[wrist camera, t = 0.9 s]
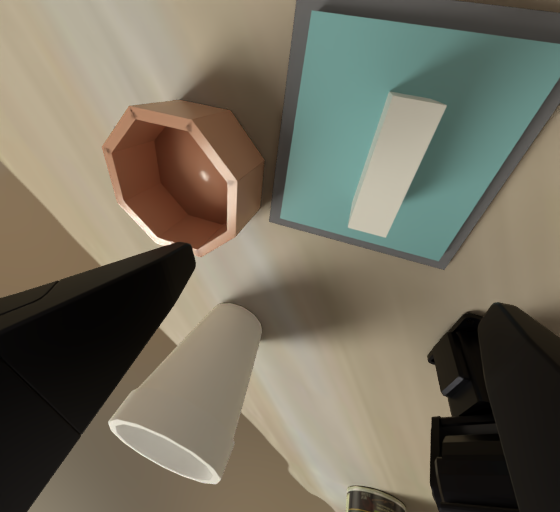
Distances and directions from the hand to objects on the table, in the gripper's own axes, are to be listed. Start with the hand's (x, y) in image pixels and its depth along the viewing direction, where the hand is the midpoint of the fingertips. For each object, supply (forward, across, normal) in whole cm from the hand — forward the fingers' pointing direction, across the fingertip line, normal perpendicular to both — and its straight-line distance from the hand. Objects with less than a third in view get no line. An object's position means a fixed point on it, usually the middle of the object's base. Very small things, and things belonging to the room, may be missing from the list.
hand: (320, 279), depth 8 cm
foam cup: (+12, +10, +18) cm, 24 cm away
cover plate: (+11, -2, -2) cm, 11 cm away
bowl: (+11, +11, +1) cm, 15 cm away
